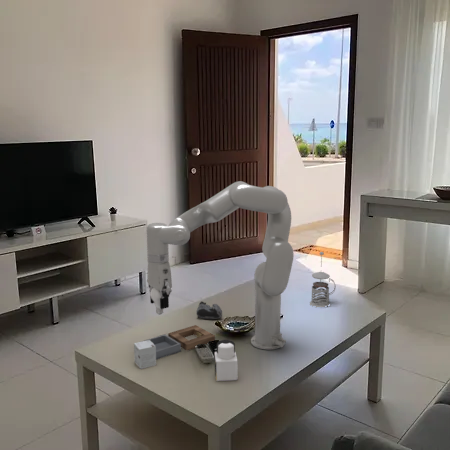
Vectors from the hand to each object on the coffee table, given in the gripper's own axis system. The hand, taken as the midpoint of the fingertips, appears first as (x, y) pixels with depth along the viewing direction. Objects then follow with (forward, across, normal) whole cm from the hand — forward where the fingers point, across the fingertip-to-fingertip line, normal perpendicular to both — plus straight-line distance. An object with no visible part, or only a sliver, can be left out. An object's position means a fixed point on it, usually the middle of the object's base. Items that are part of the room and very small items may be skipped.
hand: (159, 304), depth 182 cm
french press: (+18, -5, -83) cm, 85 cm away
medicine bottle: (+18, -30, -7) cm, 36 cm away
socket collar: (+18, 0, -14) cm, 22 cm away
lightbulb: (+4, 0, 0) cm, 4 cm away
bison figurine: (+18, +16, -34) cm, 42 cm away
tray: (+18, 0, 0) cm, 18 cm away
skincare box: (+18, -6, +10) cm, 21 cm away
